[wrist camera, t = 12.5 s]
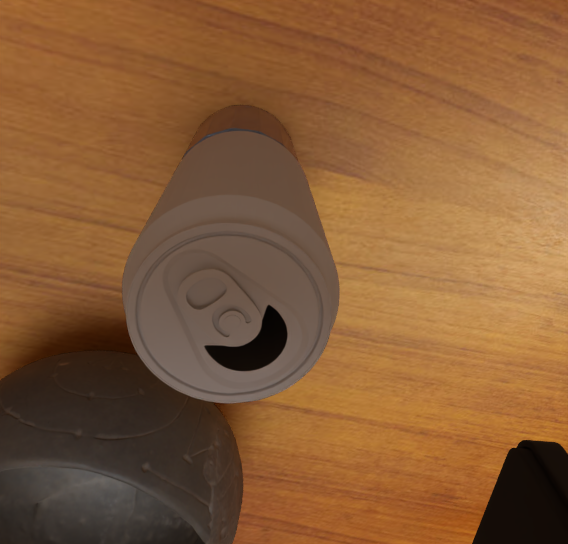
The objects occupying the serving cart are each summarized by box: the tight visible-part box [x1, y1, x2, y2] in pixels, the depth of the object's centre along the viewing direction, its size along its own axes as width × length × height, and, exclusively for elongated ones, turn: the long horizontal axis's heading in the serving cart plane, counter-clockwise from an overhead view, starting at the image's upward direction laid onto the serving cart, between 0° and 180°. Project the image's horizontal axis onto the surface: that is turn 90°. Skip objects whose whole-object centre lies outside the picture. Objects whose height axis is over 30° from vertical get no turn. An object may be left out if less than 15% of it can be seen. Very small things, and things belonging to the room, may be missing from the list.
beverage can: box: [122, 131, 339, 403], centre depth 20 cm, size 6×6×12 cm
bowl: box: [0, 351, 243, 544], centre depth 35 cm, size 18×18×13 cm
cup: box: [182, 105, 298, 161], centre depth 29 cm, size 6×6×8 cm
